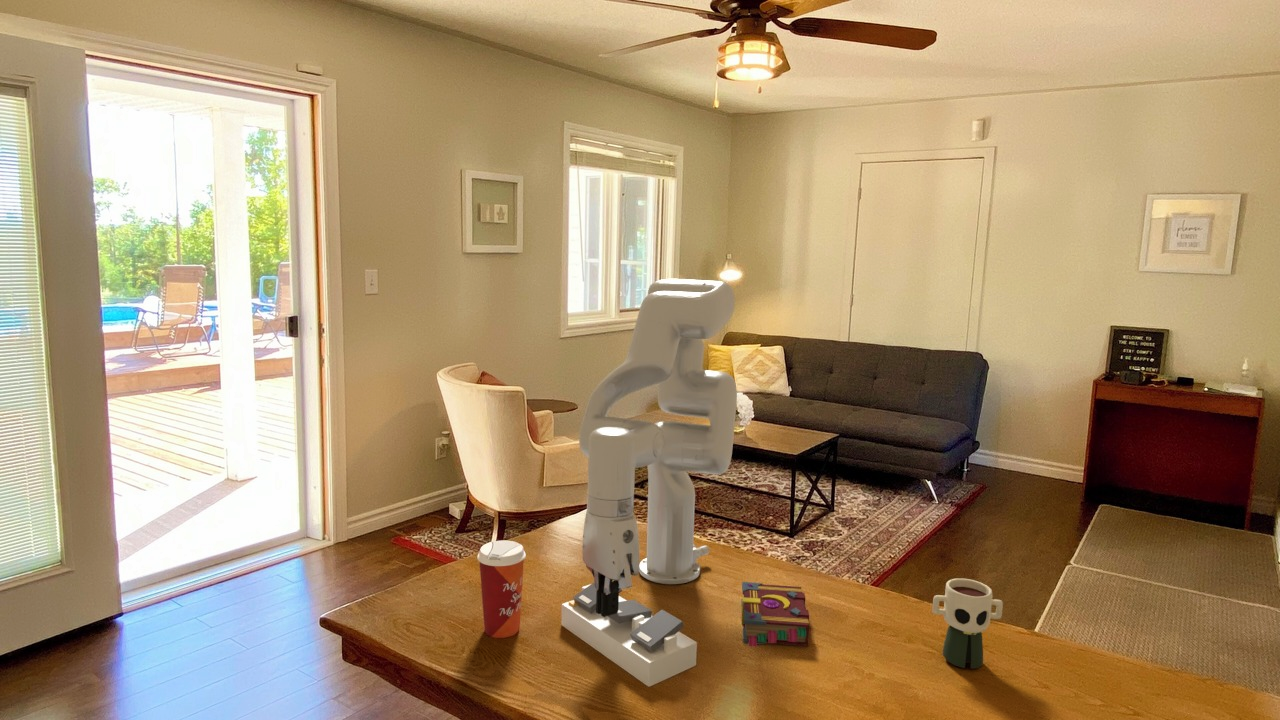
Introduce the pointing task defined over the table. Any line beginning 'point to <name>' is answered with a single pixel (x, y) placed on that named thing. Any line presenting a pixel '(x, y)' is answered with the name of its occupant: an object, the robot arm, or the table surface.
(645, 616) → the rocker mid
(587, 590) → the rocker
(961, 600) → the character mug
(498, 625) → the coffee cup
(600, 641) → the strip
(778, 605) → the decorative book
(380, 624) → the table surface
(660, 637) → the rocker
